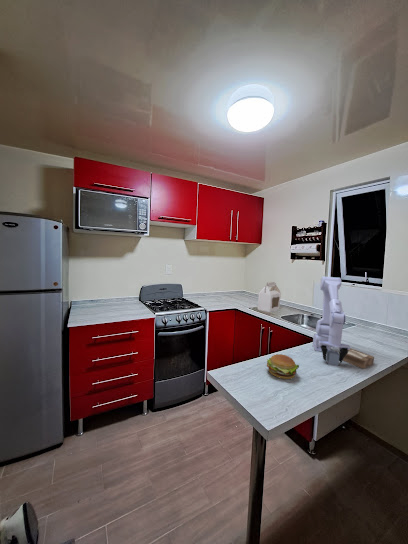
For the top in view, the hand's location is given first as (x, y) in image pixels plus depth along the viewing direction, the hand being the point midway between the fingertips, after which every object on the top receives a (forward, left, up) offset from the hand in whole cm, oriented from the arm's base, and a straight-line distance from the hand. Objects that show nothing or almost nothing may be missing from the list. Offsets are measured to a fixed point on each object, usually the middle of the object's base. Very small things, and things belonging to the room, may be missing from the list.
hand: (332, 360), depth 119 cm
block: (0, 0, -2) cm, 2 cm away
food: (-28, -20, -2) cm, 34 cm away
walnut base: (+14, +7, -1) cm, 16 cm away
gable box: (-25, +111, -2) cm, 114 cm away
